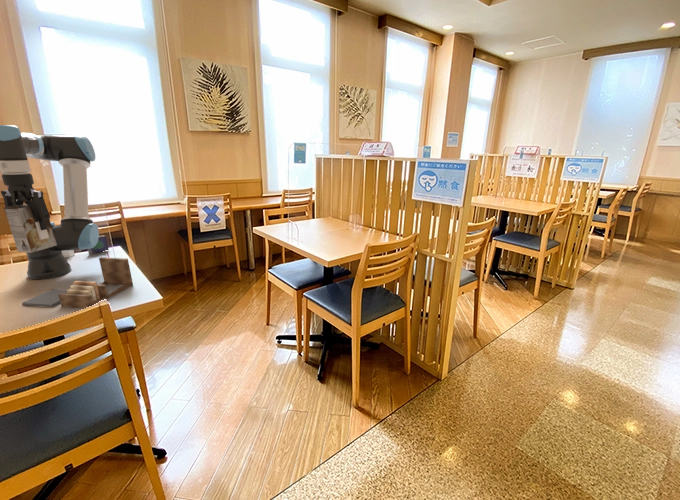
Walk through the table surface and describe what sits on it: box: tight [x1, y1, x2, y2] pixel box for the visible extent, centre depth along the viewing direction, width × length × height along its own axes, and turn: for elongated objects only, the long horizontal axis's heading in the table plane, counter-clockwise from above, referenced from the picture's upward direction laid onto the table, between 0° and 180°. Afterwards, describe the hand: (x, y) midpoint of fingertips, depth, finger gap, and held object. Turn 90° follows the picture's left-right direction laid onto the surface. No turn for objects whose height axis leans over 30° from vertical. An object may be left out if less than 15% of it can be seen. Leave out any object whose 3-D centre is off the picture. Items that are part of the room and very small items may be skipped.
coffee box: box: [3, 203, 57, 253], centre depth 116 cm, size 9×6×16 cm
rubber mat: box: [21, 288, 68, 308], centre depth 125 cm, size 12×12×1 cm
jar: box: [62, 250, 75, 259], centre depth 170 cm, size 9×8×12 cm
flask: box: [87, 234, 110, 256], centre depth 176 cm, size 9×3×11 cm, turn 141°
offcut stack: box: [66, 280, 100, 302], centre depth 121 cm, size 8×4×8 cm, turn 84°
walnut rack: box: [58, 256, 134, 309], centre depth 127 cm, size 12×21×12 cm, turn 174°
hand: (35, 238), depth 117 cm, fingers closed on coffee box, 7 cm apart
